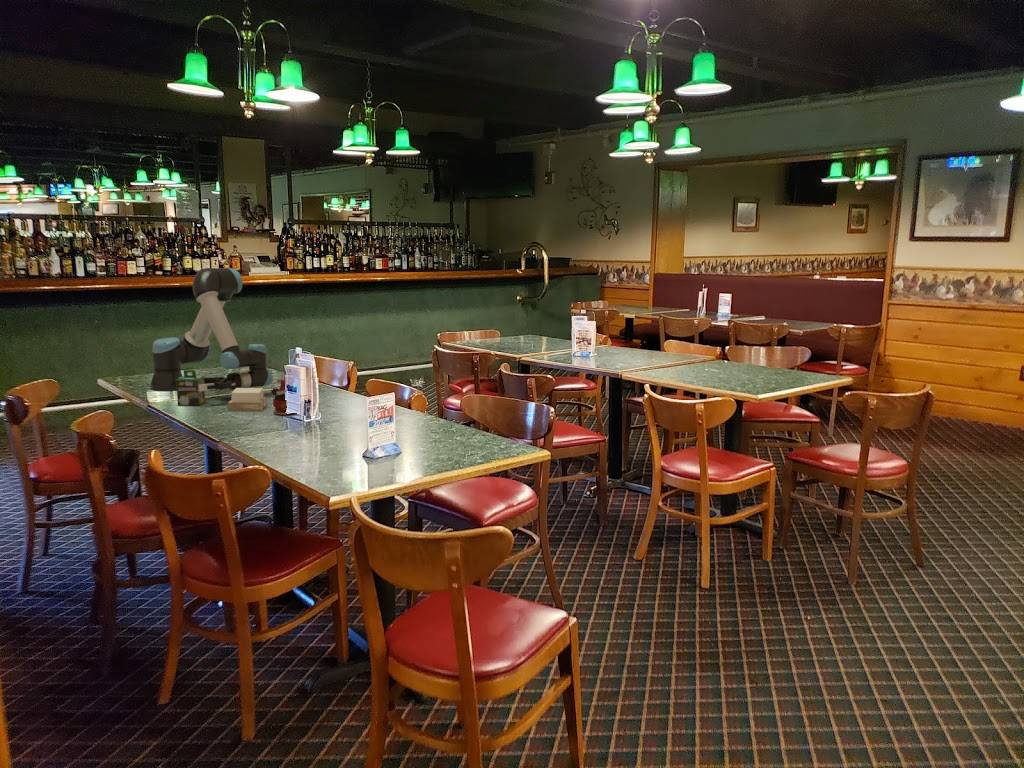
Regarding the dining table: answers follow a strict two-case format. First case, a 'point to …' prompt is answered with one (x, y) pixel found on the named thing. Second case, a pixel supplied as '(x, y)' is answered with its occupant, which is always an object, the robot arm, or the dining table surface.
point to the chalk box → (190, 389)
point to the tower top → (247, 395)
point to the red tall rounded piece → (279, 397)
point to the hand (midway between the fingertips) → (191, 385)
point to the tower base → (247, 405)
